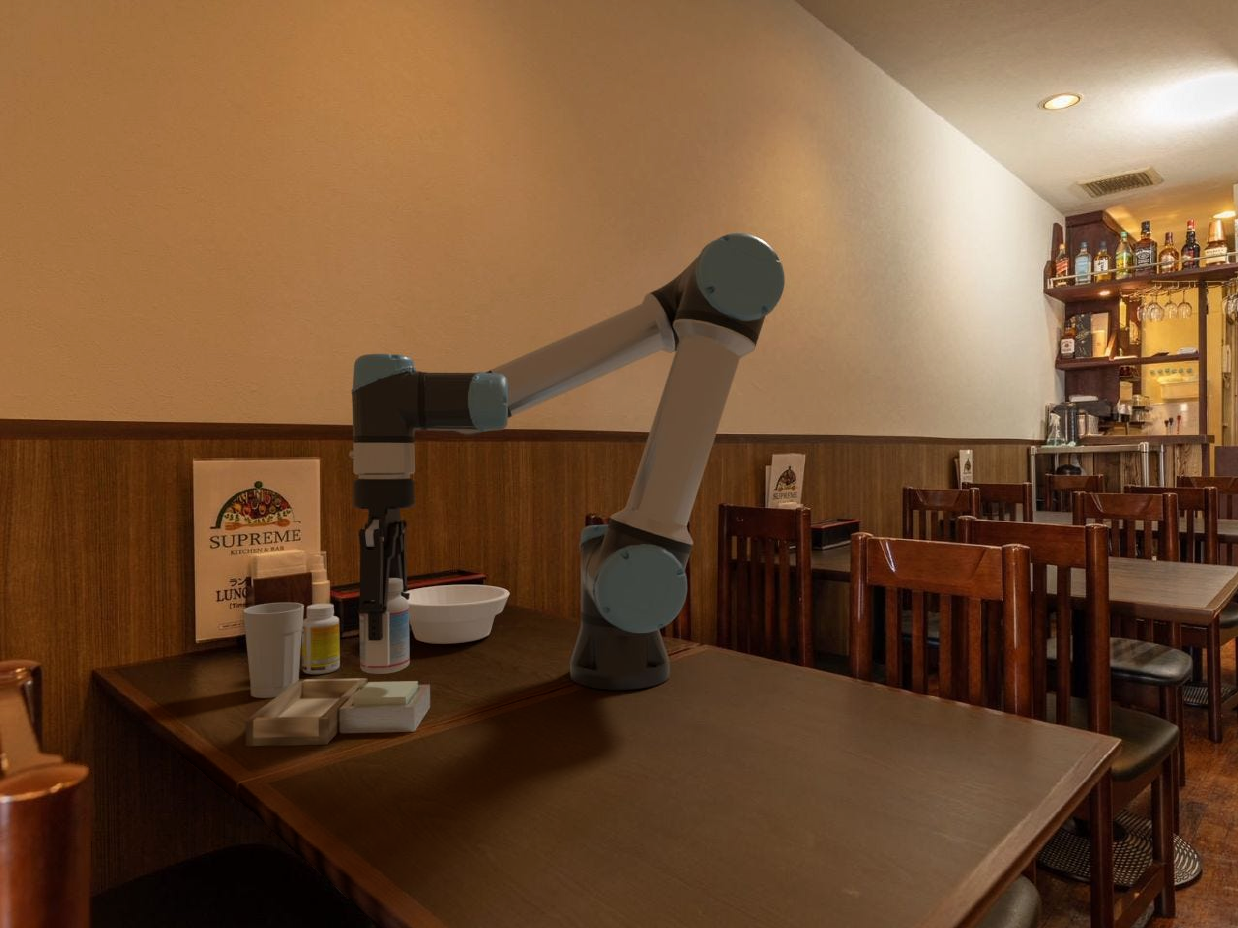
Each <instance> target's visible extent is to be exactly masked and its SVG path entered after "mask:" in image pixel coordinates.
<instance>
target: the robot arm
mask: <svg viewBox="0 0 1238 928" xmlns="http://www.w3.org/2000/svg"><path fill="white" fill-rule="evenodd" d="M785 278H786V277H785V270H784V268H783V263H782V261H781V260H780V257H778V255H777V252H776V251H775V250H774V249H773V248H772V247H771V246H770V244H768V242H766V241H764V240H763V239H762V238H759V237H757V236H755V235H753V234H749V233H744V232H733V233H728V234H725V235H723V236H722V235H721V236H720V237H718V238H717V239H715V240H712V241H711V242H709V243H708V244H706V246H704V248H702V250H701V251H700V253H699V254H698V256H697V257H695V258H694V260H693V261H692V262H691V263H689V265H688V266H687V267H685V269H684V270H683V271H681V273H680V274H678V275H676V277H674V278H673V279H672V280H670V281H669V282H668V283H666V284H664V285H662V286H661V287H659V288H657V289H655V290H653V291H651V292H649V293H646V294H645V296H644V298H643V301H642V303H640V304H638V305H637V306H633V307H632V308H629V309H626V310H624V311H621V312H620V313H618V314H615V315H614V316H611V317H608V318H607V319H603V320H602V321H599V322H597V323H595V324H592V325H590V326H587V327H586V328H584V329H581V330H579V331H577V332H574V333H572V334H570V335H568V336H564V337H563V338H561V339H559V340H556V341H553V342H551V343H549V344H547V345H544V346H542V347H540V348H538V349H535V350H533V351H531V352H529V353H526V354H523V355H522V356H519V357H517V358H514V359H513V360H510V361H508V362H506V363H503V364H501V365H499V366H497V367H494V368H492V369H489V370H488V371H485V372H484V371H477V372H427V371H426V372H425V371H419V370H417V369H416V367H415V363H414V360H413V358H412V357H410V356H407V355H404V354H392V353H391V354H390V353H368V354H362V355H360V356H358V357H357V358H356V359H355V361H354V363H353V379H352V389H351V397H352V399H351V400H352V401H351V403H352V433H353V434H352V436H353V437H352V442H353V443H352V445H353V446H352V447H353V450H350V451H349V454H348V455H349V457H350V458H351V459H353V474H355V475H358V478H356V479H354V481H353V482H352V493H353V495H352V504H353V507H354V508H355V509H358V510H367V511H368V514H367V521H366V522H367V523H365V524H364V528H360V529H359V532H358V539H359V600H358V601H359V603H358V608H357V614H358V615H359V614H365V635H366V666H388V665H389V664H390V656H389V612H386V610H387V596H388V583H389V578H399V579H402V580H403V589H402V590H403V591H402V592H401V596H403V597H404V598H406V599H407V600H409V597H410V593H406V592H407V591H408V588H409V587H408V569H407V567H408V566H407V560H408V559H407V526H408V522H407V521H408V520H405V519H401V511H400V509H401V510H402V509H408V508H409V509H410V508H412V507H413V506H415V503H416V489H415V488H416V487H415V486H416V481H415V480H414V478H411V475H414V474H415V473H416V451H415V450H416V448H415V446H416V445H415V444H416V443H415V432H416V431H448V432H449V431H453V432H456V433H458V434H462V435H464V436H474V435H477V434H480V433H482V432H486V433H487V432H490V431H492V432H493V431H502V430H505V429H506V428H507V426H508V421H509V418H511V417H513V416H516V415H519V414H521V413H522V412H525V411H527V410H529V409H532V408H534V407H536V406H538V405H540V404H542V403H545V402H548V401H550V400H552V399H554V398H556V397H559V396H562V394H566V393H568V392H569V391H572V390H574V389H576V388H579V387H581V386H583V385H587V384H588V383H590V382H592V381H595V380H597V379H599V378H602V377H604V376H606V375H609V374H610V373H613V372H615V371H617V370H620V369H622V368H624V367H626V366H628V365H630V364H633V363H635V362H637V361H639V360H643V359H645V358H647V357H649V356H651V355H653V354H656V353H658V352H660V351H663V352H666V353H669V354H671V353H672V354H673V353H674V352H675V353H674V357H673V358H672V359H673V360H672V363H671V365H670V368H669V372H668V375H667V378H666V381H665V384H664V388H663V389H662V390H663V391H662V394H661V397H660V400H659V403H658V405H657V409H656V412H655V416H654V418H653V422H652V424H651V427H650V431H649V434H648V437H647V440H646V443H645V446H644V449H643V453H642V456H641V459H640V462H639V465H638V468H637V472H636V473H635V477H634V480H633V482H632V483H633V484H632V487H631V490H630V493H629V496H628V500H627V502H626V506H625V507H624V508H623V509H621V510H619V511H617V512H615V513H613V514H612V515H610V518H609V522H608V524H595V525H594V524H593V525H587V526H586V527H585V526H584V528H583V529H582V530H581V533H580V542H579V546H578V547H579V550H580V613H581V615H580V616H581V617H580V618H581V619H580V620H581V621H580V628H579V632H578V636H577V639H576V641H575V645H574V649H573V651H572V655H571V658H570V662H569V665H570V666H569V669H570V670H569V671H570V673H569V674H570V675H569V677H570V679H571V681H573V682H575V683H576V684H578V685H581V686H584V687H588V688H592V689H599V690H607V691H608V690H609V691H610V690H611V691H612V690H613V691H625V690H626V691H627V690H628V691H629V690H639V689H647V688H650V687H654V686H657V685H660V684H662V683H664V682H666V681H667V680H668V679H669V678H670V676H671V675H670V672H671V671H670V659H669V656H668V653H667V650H666V646H665V644H664V640H663V637H662V634H661V631H660V630H661V629H663V628H664V627H666V626H668V625H669V624H670V623H671V622H673V621H674V620H675V619H676V617H677V616H678V615H679V614H680V612H681V610H682V609H683V606H684V605H685V602H686V600H687V593H688V579H687V574H686V567H687V563H688V561H689V558H690V555H691V551H692V549H693V548H692V547H693V544H694V541H693V538H692V537H691V534H690V533H689V531H688V527H687V526H688V522H689V521H690V517H691V513H692V511H693V507H694V504H695V502H696V497H697V495H698V491H699V488H700V485H701V482H702V479H703V476H704V473H705V470H706V467H707V464H708V461H709V457H710V453H711V452H712V451H711V450H712V449H713V445H714V442H715V439H716V435H717V432H718V429H719V427H720V423H721V420H722V416H723V413H724V410H725V407H726V404H727V400H728V398H729V394H730V391H731V390H732V389H731V388H732V385H733V381H734V378H735V376H736V373H737V369H738V366H739V363H740V360H741V359H742V358H744V357H745V356H747V355H749V354H751V353H753V352H754V351H755V350H756V347H757V343H758V341H759V337H760V336H761V335H760V334H761V332H762V329H763V325H764V321H765V319H766V316H768V315H770V314H771V312H773V311H774V309H775V307H777V305H778V303H779V301H780V300H781V298H782V295H783V293H784V289H785V282H786V281H785V280H786V279H785ZM371 600H373V601H371Z"/></svg>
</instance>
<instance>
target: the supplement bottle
mask: <svg viewBox="0 0 1238 928" xmlns="http://www.w3.org/2000/svg"><path fill="white" fill-rule="evenodd" d="M334 607H335V606H334V604H333V603H315V604H311V605H307V606H306V618H303V624H302V632H301V667H302V668H301V670H302V672H303V673H304V674H308V675H324V674H329V673H332V672H335V671H337V670H338V669H339V668H340V666H341V653H340V651H341V649H340V646H341V645H340V644H341V643H340V618H339V617H338V616H336V615H334V614H335V609H334Z"/></svg>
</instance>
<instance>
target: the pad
mask: <svg viewBox="0 0 1238 928" xmlns="http://www.w3.org/2000/svg"><path fill="white" fill-rule="evenodd" d="M367 683H368V684H367V685H366V686H365V687H364V688H363V689H362V690H361V691H360V692H359V693H358V694H357V695H356V696H355V697H354V706H370V705H407V704H408V703H409V702H410V700H411V699H412V698H413V696H414V695H415V693H416V692H417V691H418V685H419V681H418V680H414V681H412V680H411V681H410V680H409V681H406V680H405V681H368V682H367Z"/></svg>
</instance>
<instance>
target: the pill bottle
mask: <svg viewBox="0 0 1238 928" xmlns="http://www.w3.org/2000/svg"><path fill="white" fill-rule="evenodd" d="M402 589H403V580H402V579H399V578H389V583H388V596H387V610H386V612H389V656H390V664H389V665H388V666H366V635H365V614H358V615H359V618H358V619H359V665H360V666H359V668H360V670H361V671H362V672H363V673H367V674H371V675H372V674H375V675H379V674H380V675H381V674H384V675H385V674H391V673H392V674H393V673H396V672H399V671H401V670H404V669H406V668H407V667H409V665H410V663H411V662H410V660H411V659H410V658H411V657H410V655H411V654H410V651H411V649H410V622H409V603H408V601H407V599H406V598H404V597H403V596H401V592H402V591H403V590H402ZM371 601H373V600H371Z"/></svg>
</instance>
